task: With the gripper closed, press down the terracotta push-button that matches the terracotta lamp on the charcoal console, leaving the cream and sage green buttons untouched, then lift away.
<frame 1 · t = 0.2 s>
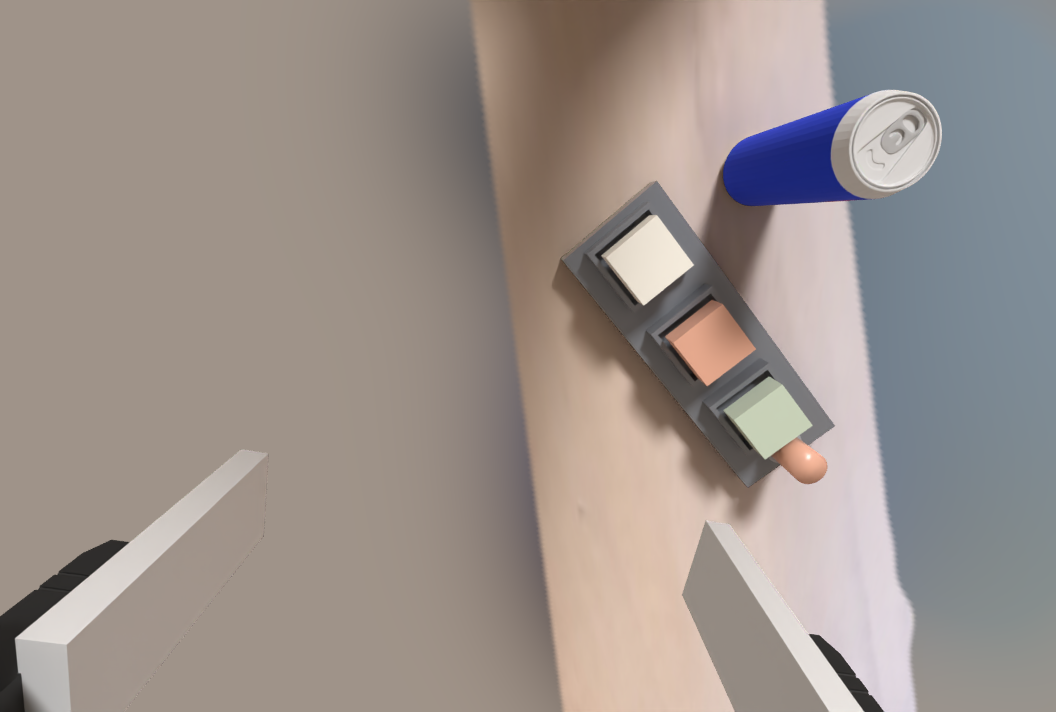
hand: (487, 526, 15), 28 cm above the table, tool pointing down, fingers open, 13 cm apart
terracotta button: (709, 342, 37), point 5 cm above the table, slide at 0.0 cm
sage button: (767, 417, 39), point 5 cm above the table, slide at 0.0 cm
cream button: (646, 260, 35), point 5 cm above the table, slide at 0.0 cm
beverage can: (751, 172, 39), on the table
console: (697, 342, 42), on the table
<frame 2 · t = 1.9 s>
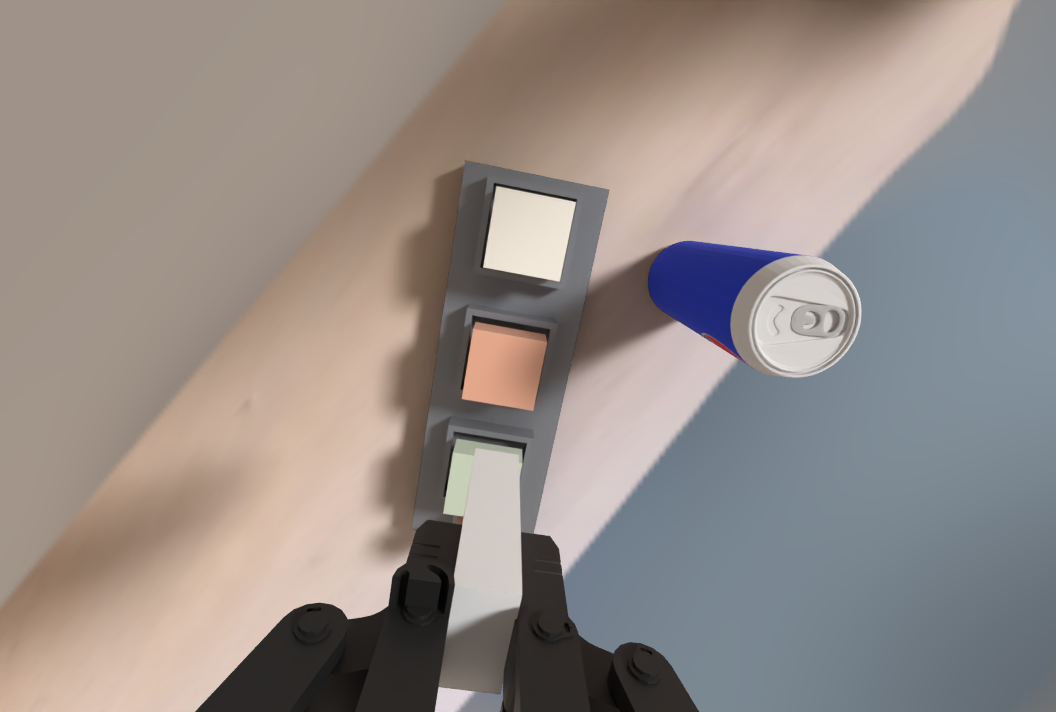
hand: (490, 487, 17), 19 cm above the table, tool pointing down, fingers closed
terracotta button: (504, 366, 30), point 5 cm above the table, slide at 0.0 cm
sage button: (483, 480, 32), point 5 cm above the table, slide at 0.0 cm
cream button: (528, 234, 28), point 5 cm above the table, slide at 0.0 cm
beverage can: (681, 278, 34), on the table
console: (502, 366, 36), on the table
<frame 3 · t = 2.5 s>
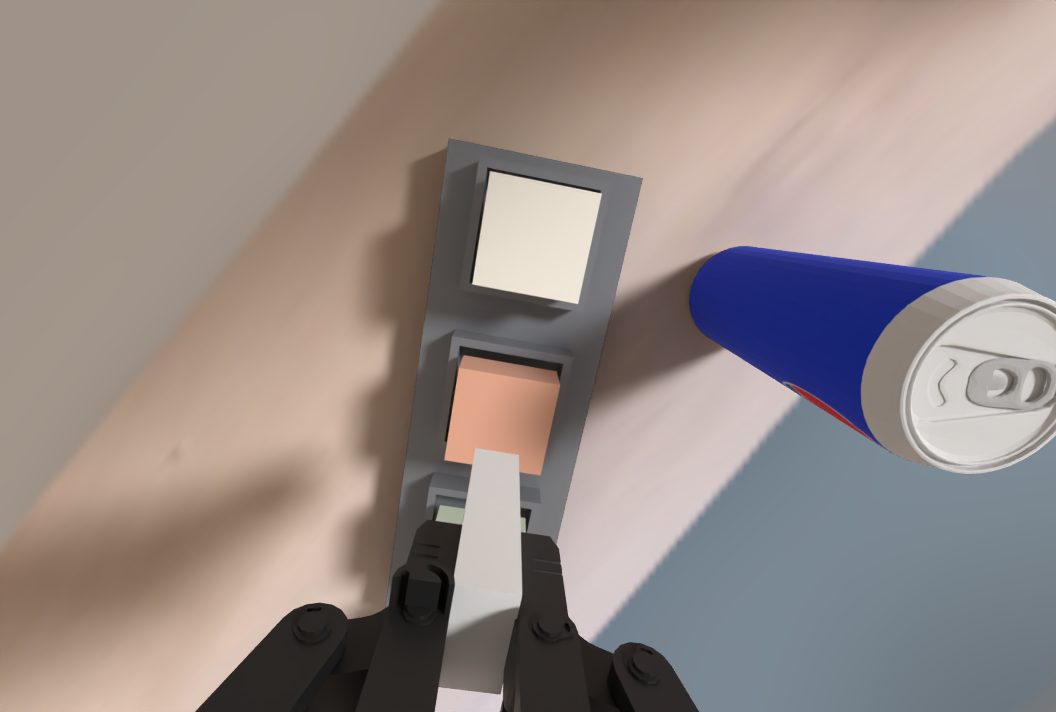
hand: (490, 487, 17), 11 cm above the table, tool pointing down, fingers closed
terracotta button: (501, 414, 23), point 5 cm above the table, slide at 0.0 cm
sage button: (474, 560, 25), point 5 cm above the table, slide at 0.0 cm
cream button: (534, 238, 21), point 5 cm above the table, slide at 0.0 cm
beverage can: (731, 294, 27), on the table
console: (499, 405, 28), on the table
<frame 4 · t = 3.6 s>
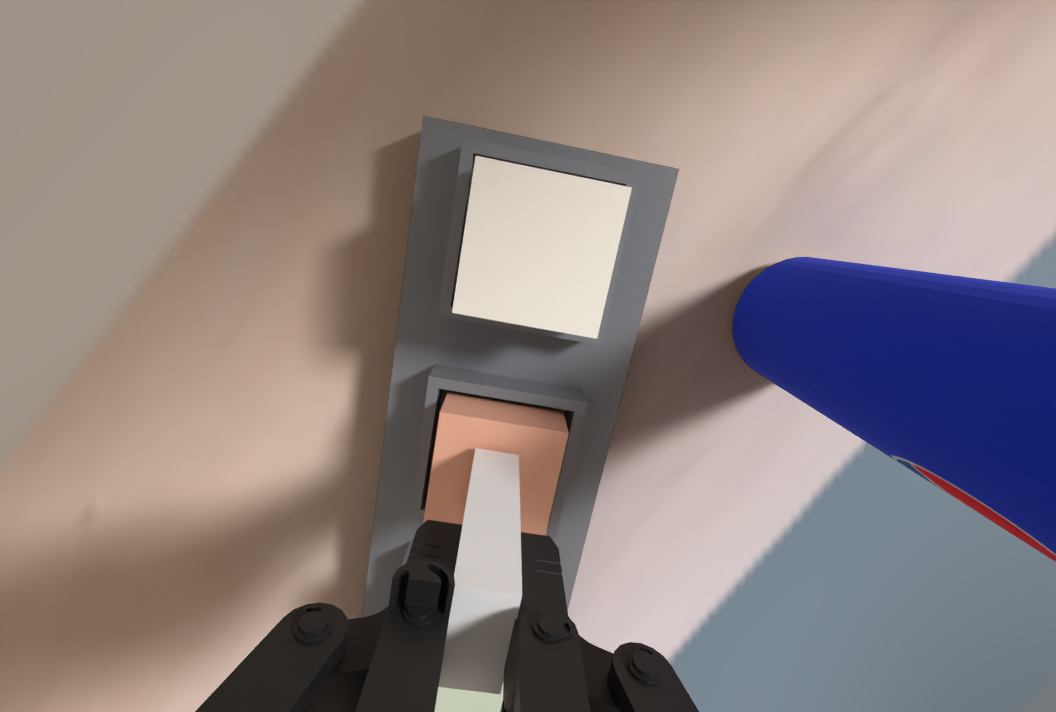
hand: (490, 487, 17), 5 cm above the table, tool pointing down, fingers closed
terracotta button: (495, 466, 18), point 4 cm above the table, slide at 1.0 cm, touching gripper
sage button: (459, 662, 19), point 5 cm above the table, slide at 0.0 cm
cream button: (537, 249, 15), point 5 cm above the table, slide at 0.0 cm
beverage can: (784, 316, 21), on the table
console: (492, 454, 22), on the table
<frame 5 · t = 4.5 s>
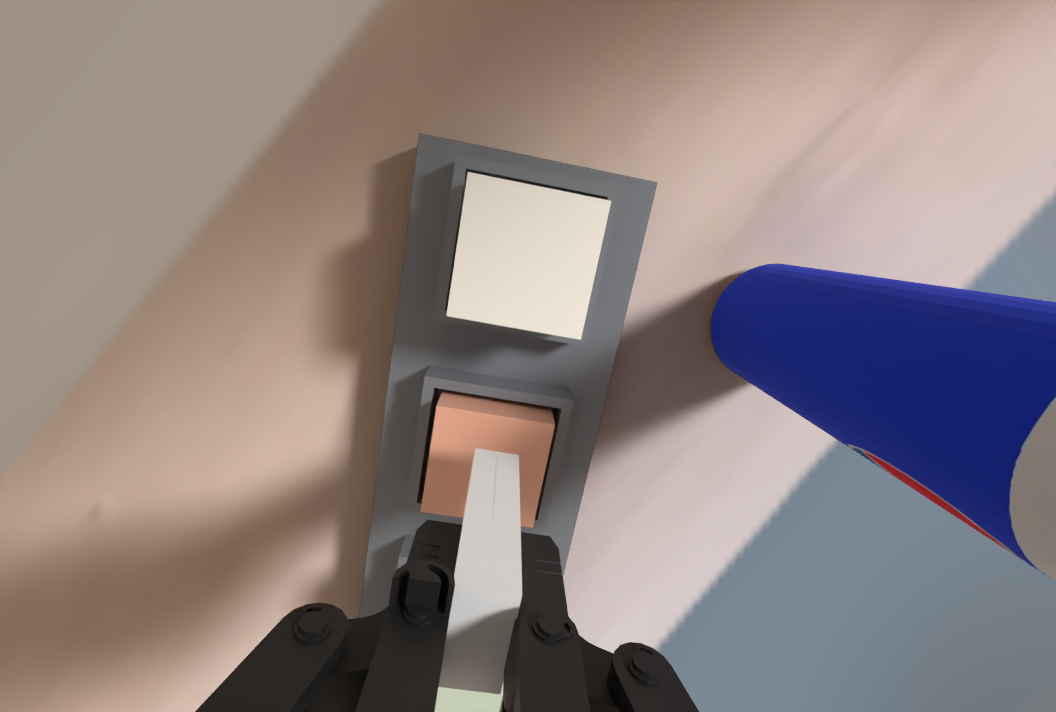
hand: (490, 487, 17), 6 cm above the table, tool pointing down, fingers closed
terracotta button: (487, 457, 20), point 4 cm above the table, slide at 1.4 cm
sage button: (454, 648, 20), point 5 cm above the table, slide at 0.0 cm
cream button: (525, 257, 16), point 5 cm above the table, slide at 0.0 cm
beverage can: (759, 319, 22), on the table
console: (485, 452, 23), on the table
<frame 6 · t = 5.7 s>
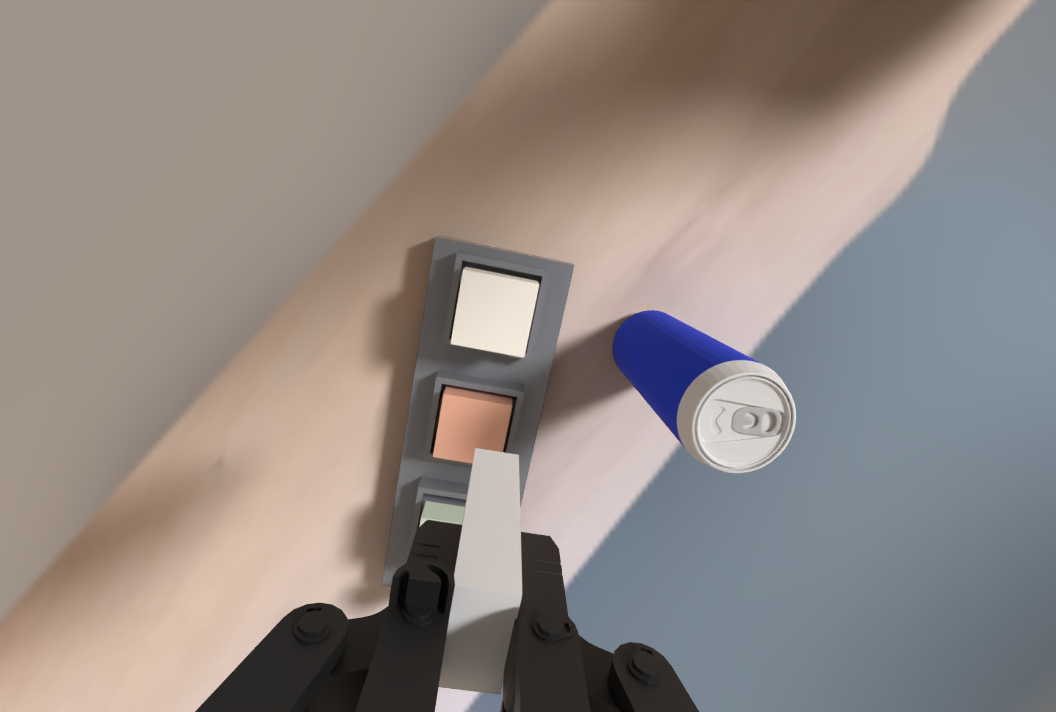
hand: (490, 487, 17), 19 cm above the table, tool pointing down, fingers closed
terracotta button: (473, 425, 33), point 4 cm above the table, slide at 1.4 cm
sage button: (451, 542, 33), point 5 cm above the table, slide at 0.0 cm
cream button: (494, 311, 30), point 5 cm above the table, slide at 0.0 cm
beverage can: (645, 343, 36), on the table
console: (472, 425, 37), on the table
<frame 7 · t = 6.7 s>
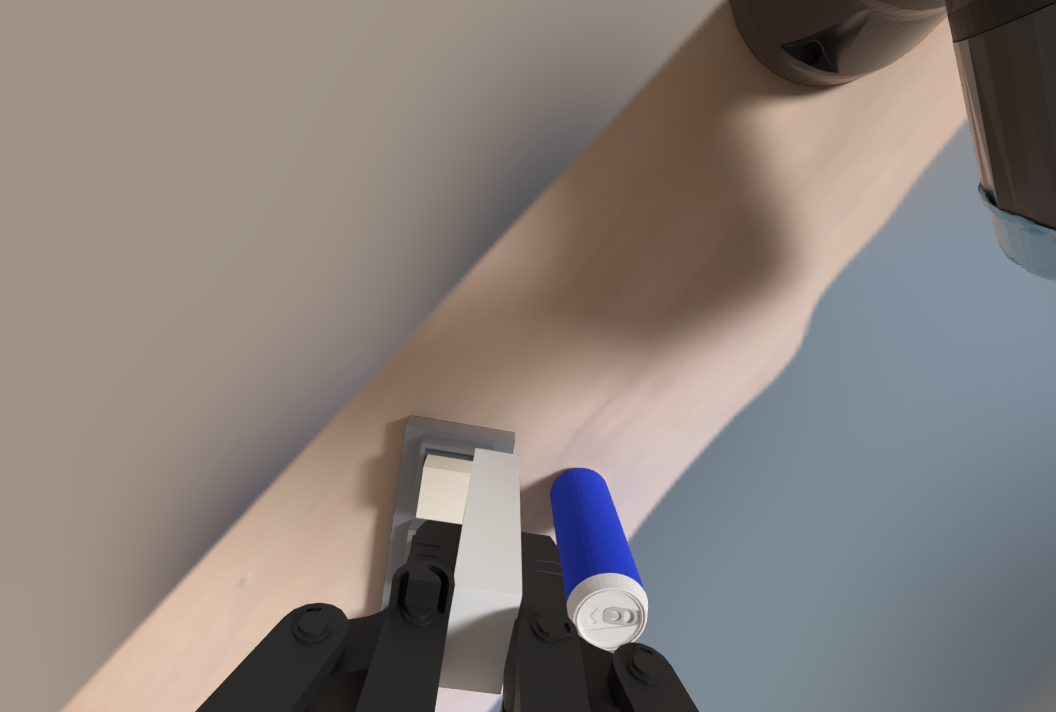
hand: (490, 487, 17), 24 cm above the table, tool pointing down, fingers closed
cream button: (450, 489, 39), point 5 cm above the table, slide at 0.0 cm
beverage can: (578, 489, 45), on the table
console: (441, 552, 46), on the table
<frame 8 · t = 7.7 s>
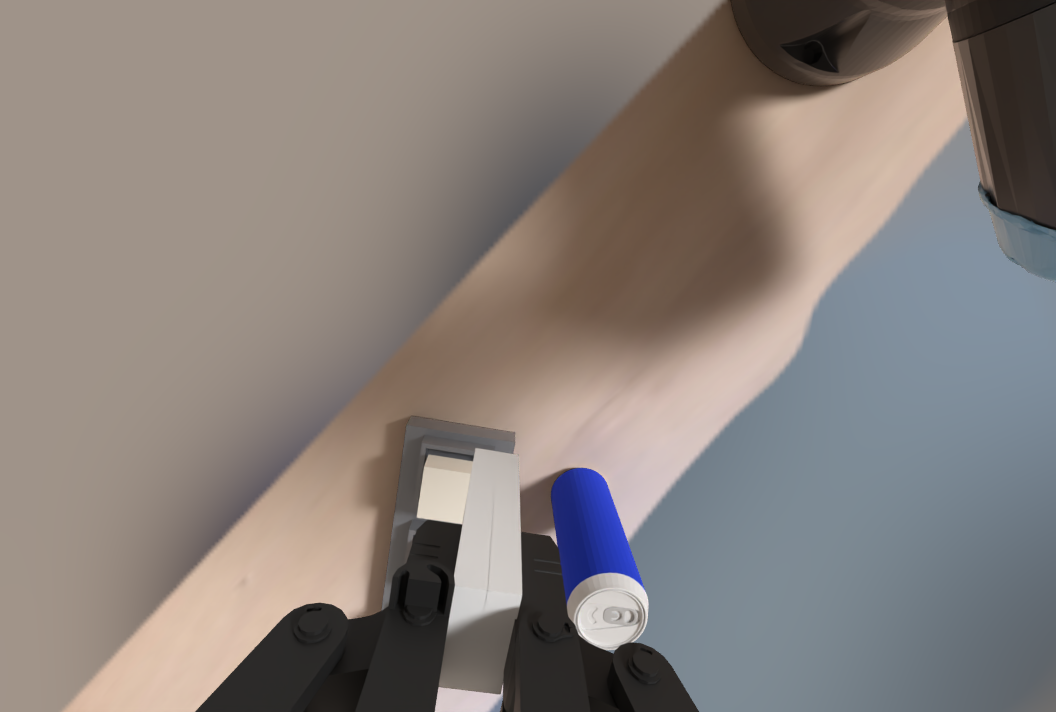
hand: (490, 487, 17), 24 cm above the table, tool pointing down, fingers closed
cream button: (450, 489, 39), point 5 cm above the table, slide at 0.0 cm
beverage can: (578, 489, 45), on the table
console: (442, 552, 46), on the table
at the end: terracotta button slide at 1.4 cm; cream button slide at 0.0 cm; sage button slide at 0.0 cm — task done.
